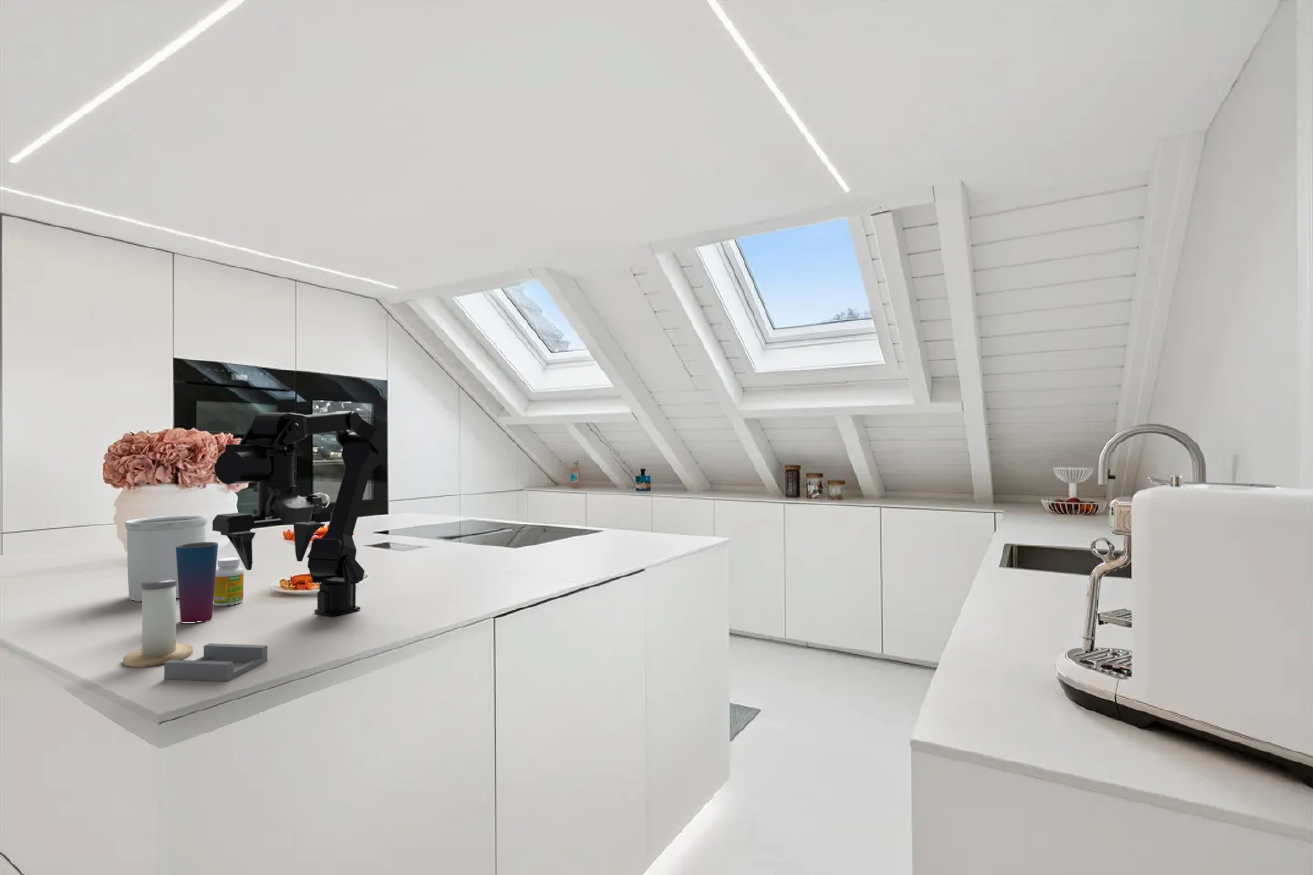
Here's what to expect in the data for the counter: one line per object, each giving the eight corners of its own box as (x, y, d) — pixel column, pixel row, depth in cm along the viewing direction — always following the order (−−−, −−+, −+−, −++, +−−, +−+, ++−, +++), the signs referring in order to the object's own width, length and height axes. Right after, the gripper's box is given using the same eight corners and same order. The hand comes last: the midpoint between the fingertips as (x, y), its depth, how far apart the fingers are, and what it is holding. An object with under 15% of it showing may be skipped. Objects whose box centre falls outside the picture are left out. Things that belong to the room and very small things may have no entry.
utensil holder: (106, 600, 138) (107, 521, 138) (169, 585, 153) (170, 513, 153) (163, 604, 136) (164, 523, 136) (222, 588, 151) (222, 515, 151)
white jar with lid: (176, 645, 107) (176, 576, 107) (176, 653, 104) (176, 581, 104) (142, 651, 104) (142, 580, 104) (140, 659, 101) (140, 585, 101)
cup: (225, 617, 127) (226, 543, 127) (190, 626, 121) (191, 548, 121) (201, 613, 129) (202, 540, 129) (166, 622, 123) (167, 546, 123)
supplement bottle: (228, 607, 134) (228, 561, 134) (207, 605, 135) (207, 560, 135) (249, 600, 140) (249, 557, 140) (228, 599, 141) (229, 556, 141)
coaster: (176, 644, 110) (176, 640, 110) (203, 653, 106) (203, 649, 106) (112, 660, 102) (112, 655, 102) (139, 671, 98) (139, 666, 98)
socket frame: (209, 658, 104) (209, 643, 104) (267, 660, 103) (267, 645, 103) (164, 678, 95) (164, 662, 95) (227, 681, 94) (227, 664, 94)
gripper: (247, 485, 104) (246, 580, 104) (350, 479, 120) (349, 561, 120) (211, 482, 109) (210, 572, 109) (314, 477, 125) (313, 555, 125)
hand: (275, 565), depth 116 cm, fingers open, 9 cm apart
